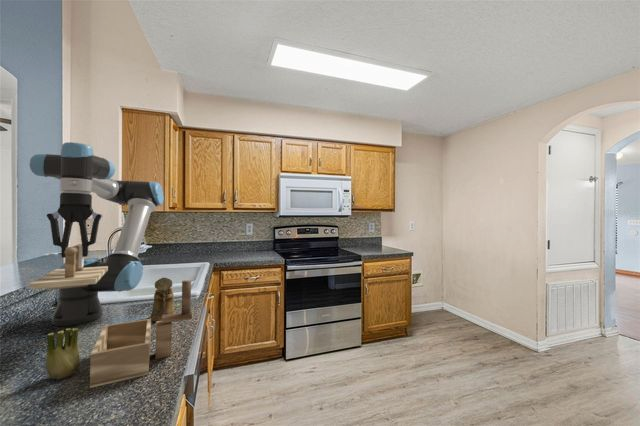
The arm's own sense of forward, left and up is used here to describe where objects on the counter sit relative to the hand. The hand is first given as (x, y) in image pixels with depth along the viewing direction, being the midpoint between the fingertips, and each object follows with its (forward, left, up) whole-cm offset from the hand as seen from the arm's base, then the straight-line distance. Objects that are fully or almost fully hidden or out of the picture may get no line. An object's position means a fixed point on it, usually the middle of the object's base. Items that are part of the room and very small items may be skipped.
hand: (74, 267), depth 87 cm
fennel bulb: (+20, +2, -25) cm, 32 cm away
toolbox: (+19, +18, -25) cm, 36 cm away
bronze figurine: (-12, +25, -25) cm, 37 cm away
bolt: (+19, +28, -15) cm, 37 cm away
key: (-25, +28, -25) cm, 45 cm away
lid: (0, 0, -4) cm, 4 cm away
